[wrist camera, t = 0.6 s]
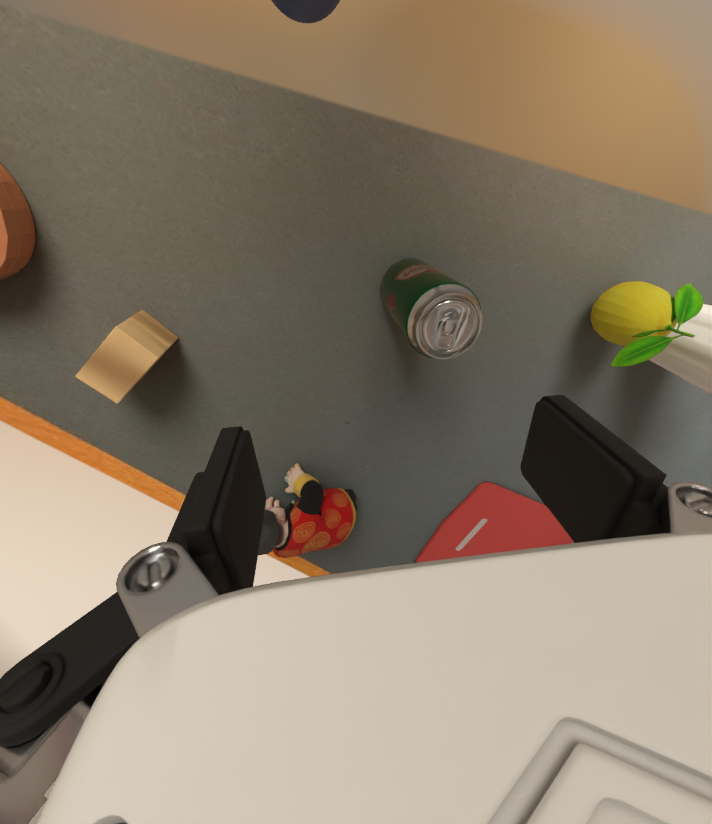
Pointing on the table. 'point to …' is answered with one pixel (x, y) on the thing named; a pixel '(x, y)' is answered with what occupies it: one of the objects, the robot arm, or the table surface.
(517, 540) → the desk lamp
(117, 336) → the wooden block
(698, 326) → the cup
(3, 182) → the terracotta bowl
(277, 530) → the figurine
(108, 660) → the robot arm
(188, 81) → the table surface
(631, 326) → the lemon
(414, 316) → the soda can
